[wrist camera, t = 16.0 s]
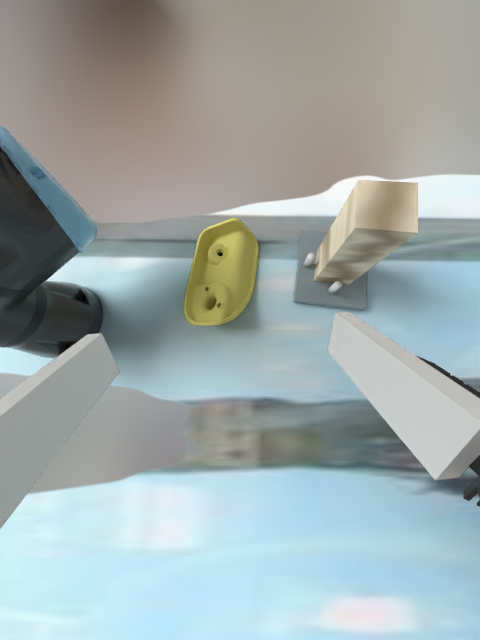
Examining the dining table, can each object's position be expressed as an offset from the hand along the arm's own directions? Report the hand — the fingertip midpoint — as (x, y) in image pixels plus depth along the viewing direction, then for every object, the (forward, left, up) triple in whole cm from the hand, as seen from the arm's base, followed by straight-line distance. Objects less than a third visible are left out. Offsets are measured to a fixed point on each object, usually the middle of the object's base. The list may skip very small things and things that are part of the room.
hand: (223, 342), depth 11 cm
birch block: (+13, +17, -21) cm, 31 cm away
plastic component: (-7, +13, -23) cm, 28 cm away
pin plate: (+13, +17, -23) cm, 32 cm away
